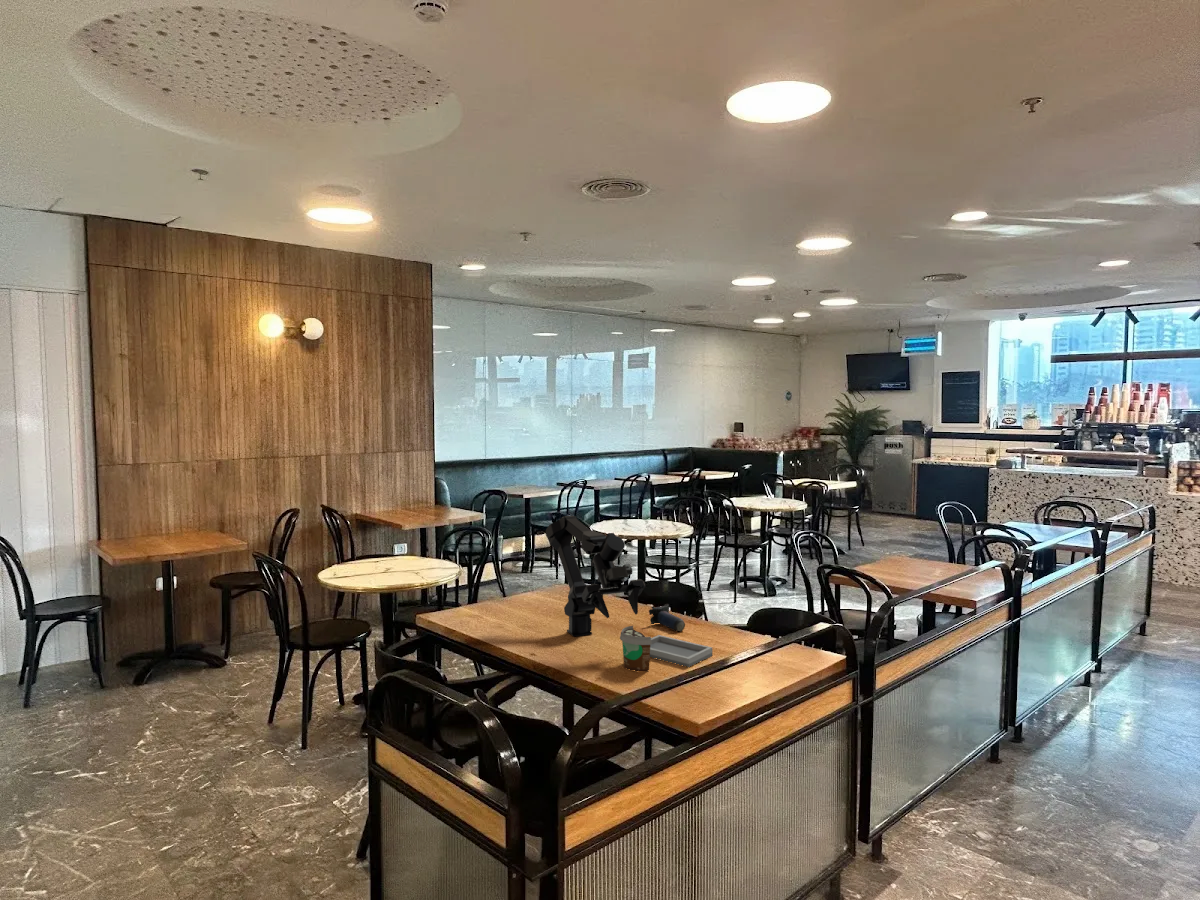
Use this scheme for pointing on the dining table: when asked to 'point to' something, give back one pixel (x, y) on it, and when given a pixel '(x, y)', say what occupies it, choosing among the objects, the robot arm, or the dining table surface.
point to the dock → (678, 651)
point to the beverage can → (666, 618)
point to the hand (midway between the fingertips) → (622, 615)
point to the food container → (635, 649)
